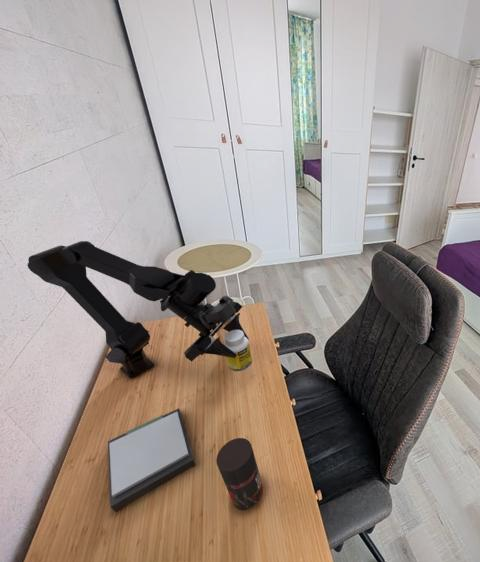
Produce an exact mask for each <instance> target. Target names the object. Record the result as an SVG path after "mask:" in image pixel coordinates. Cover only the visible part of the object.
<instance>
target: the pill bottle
mask: <svg viewBox="0 0 480 562" xmlns="http://www.w3.org/2000/svg"><path fill="white" fill-rule="evenodd" d="M224 345H225V346H226V347H228V348H229V349H230V350H232V351H233V352H234V353H235V354H236V355H237V356H236V357H235V358H231V357H226V356H225V359H226V363H227V367H228V369H229V371H230V372H232V373H243V372H245V371H247V370H249V368H250V367H251V366H252V364H253V356H252V352H251V347H250V342H249V340H248V339H247V338H246V337H244V333H243V331H241V330H232V331H230V332H228V333H227V334H226V335H225V343H224Z"/></svg>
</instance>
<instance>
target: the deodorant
mask: <svg viewBox="0 0 480 562" xmlns="http://www.w3.org/2000/svg"><path fill="white" fill-rule="evenodd" d="M215 461H216V466H217V468H218V471H219V474H220V475H221V478H222V481H223V484H224V485H225V488H226V490H227V492H228V494H229V497H230V500H231V502H232V504H233V506H234V508H235V509H236V510H239V511H247V510H250V509H251V508H253V507H254V506H255V505H256V504H258V502H259V501H260V500H261V497H262V496H263V492H264V486H263V481H262V478H261V475H260V470H259V467H258V464H257V460H256V456H255V453H254V449H253V446H252V443H251V441H249V439H247V438H244V437H238V438H233V439H231V440H229V441H228V442H226V443H225V444H224V445H223V446H221V448H220V449H219V451H218V452H217V455H216V459H215Z"/></svg>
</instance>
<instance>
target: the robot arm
mask: <svg viewBox="0 0 480 562" xmlns="http://www.w3.org/2000/svg"><path fill="white" fill-rule="evenodd" d="M27 260H28V262H27V268H28V270H29V271H31V273H33V274H35V275H36V276H38V278H40V279H41V280H42V281H44V282H45V283H48V284H51V285H54V286H57V287H60V288H62V289H63V290H64V291H65V292H66V293H67V294H68V295H69V296H70V297H71V298H72V299H73V300H74V301H75V302H76V303H77V304H78V305H79V306H80V308H82V309H83V310H84V311H85V312H86V313H87V314H88V315H89V316H90V318H91V319H93V321H95V323H96V324H97V325H98V326H100V328H101V329H102V330H103V331H104V332H105V343H106V345H107V346H108V347H109V348H110V351H109V352H108V353H107V354H106V355H105V359H106V360H107V361H109V363H114V364H121V367H120V371H121V372H122V373H123V374H124V375H125V376H126V377H127V378H128V379H129V380H131V379H134V378H135V377H137V376H139V375H140V374H142V373H144V372H146V371H148V370H150V369H151V368H153V367H154V366H155V363H154V362H153V361H152V360H151V359H149V357H147V355H146V353H145V351H144V348H145V347H146V346H148V345H149V344H150V340H151V335H150V331H149V330H148V329H146V327H144V325H143V324H142V322H139V321H137V322H133V321H129V320H127V319H126V318H125V317H124V316H123V315H122V314H121V313H120V312H119V311H118V310H117V308H116V307H115V306H114V305H113V304H112V303H111V302H110V301H109V300H108V299H107V298H106V297H105V296H104V294H103V292H102V291H100V289H99V288H98V287H97V286H96V285H95V284H94V283H93V282H92V281H91V280H90V279H89V278H88V276H87V275H88V274H87V268H88V269H90V270H93V271H96V272H98V273H99V274H102V275H105V276H107V277H110V278H113V279H115V280H117V281H119V282H122V283H124V284H126V285H128V286H129V287H130V288H131V290H132V291H133V293H134V294H136V295H138V296H139V297H142V298H143V299H145V300H147V301H150V302H157V301H159V303H160V310H161V312H165V311H167V310H169V311H171V312H172V313H173V314H175V315H176V316H178V318H180V319H182V320H183V321H184V322H185V323H184V326H185V327H187V328H189V327H190V326H191V327H192V328H194V329H195V330H196V331H198V332H199V333H198V334H197V335H198V336H199V337H198V338H196V340H194V342H192V343H191V344H190V345H189V346H188V348H186V350H185V351H184V352H183V354H184V356H185V358H186V359H187V360H189V361H190V362H193V361H194V360H196V358H198V357H200V356H204V355H215V356H222V357H225V358H226V357H231V358H235V357H236V356H237V355H236V354H235V353H234V352H233V351H232V350H230V349H229V348H228V347H226V346H225V345H224V344H222V343H221V341H220V338H219V337H218V336H217V338H215V337H214V336H215V335H217V334H216V332H217V331H218V330H219V329H220V328H221V327H222V326H223V325H225V326H224V328H223V329H225V330H226V331H228V332H230V331H232V330H241V331H243V333H244V337H246V338H247V339H248V341H249V337H248V335H247V334H246V332H245V330H244V328H243V327H242V325H241V323H240V316H241V312H240V311H241V310H242V309H243V307H244V306H243V305H242V304H241V303H240V302H237V301H234V300H233V298H231V297H230V296H228V295H223V296H222V297H221V298H220V299H219V300H218V303H217V304H216V305H212V304H211V303H209V302H207V303H203V301H204V300H206V299H207V298H208V297H209V296H210V295H211V294H212V293H213V292H214V291H215V290H216V288H217V284H216V281H215V279H214V278H213V277H212V276H211V275H210V274H206V273H204V272H196V271H194V269H191V270H189V271H187V272H186V273H185V274H180V273H177V272H171V271H170V270H168V269H165V268H161V267H157V266H153V265H152V266H151V265H150V266H149V265H148V266H147V265H141V264H137V263H135V262H132V261H130V260H128V259H125V258H123V257H120V256H118V255H117V254H114V253H111V252H109V251H106V250H104V249H101V248H99V247H97V246H95V245H94V243H92V242H90V241H89V240H80V241H78V242H75V243H72V244H69V245H67V246H65V245H56V246H54V247H52V248H48V249H46V250H43V251H41V252H37V253H34V254H31V255H30V256H29V257H28V259H27ZM235 313H236V314H235ZM217 323H218V324H217ZM216 324H217V326H216Z"/></svg>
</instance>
